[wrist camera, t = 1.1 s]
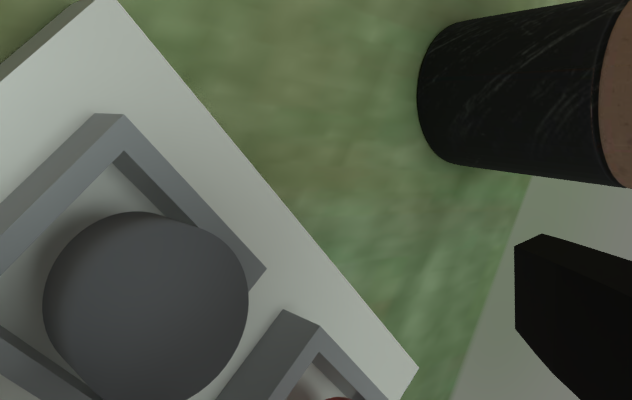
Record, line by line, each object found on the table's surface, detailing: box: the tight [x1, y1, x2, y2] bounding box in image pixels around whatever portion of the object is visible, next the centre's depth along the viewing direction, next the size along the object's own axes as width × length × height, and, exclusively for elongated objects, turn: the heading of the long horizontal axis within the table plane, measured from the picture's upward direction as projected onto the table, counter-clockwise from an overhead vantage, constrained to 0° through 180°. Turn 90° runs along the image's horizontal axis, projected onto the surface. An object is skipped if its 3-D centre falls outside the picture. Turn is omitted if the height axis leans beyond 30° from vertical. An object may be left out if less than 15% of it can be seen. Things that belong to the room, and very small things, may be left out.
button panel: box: [0, 0, 419, 400], centre depth 19 cm, size 11×19×5 cm, turn 42°
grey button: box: [42, 211, 249, 400], centre depth 13 cm, size 4×4×2 cm
